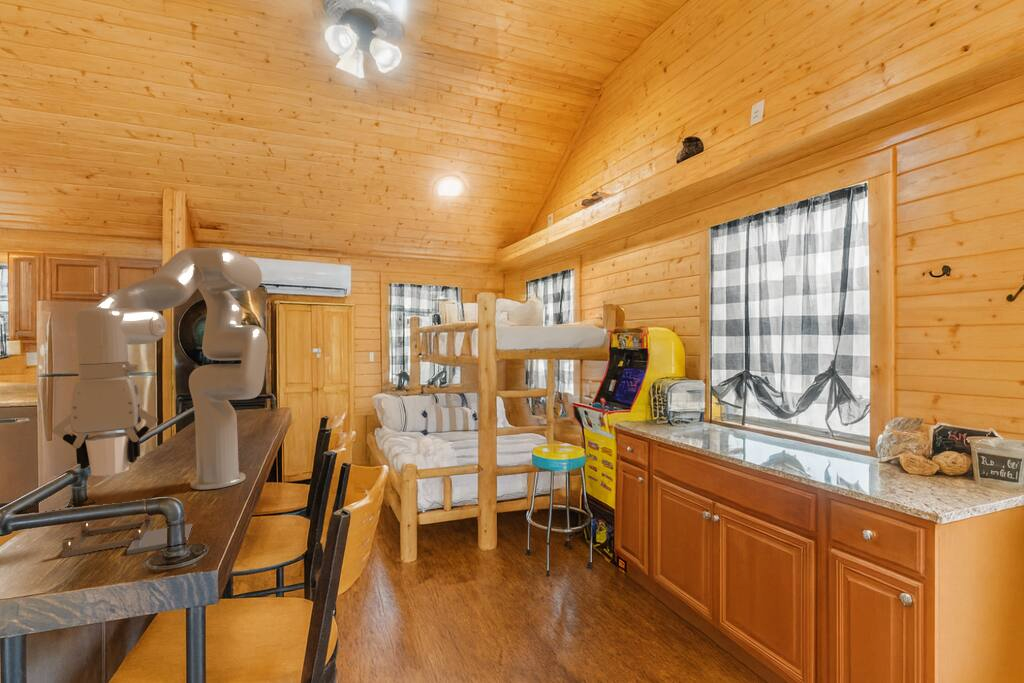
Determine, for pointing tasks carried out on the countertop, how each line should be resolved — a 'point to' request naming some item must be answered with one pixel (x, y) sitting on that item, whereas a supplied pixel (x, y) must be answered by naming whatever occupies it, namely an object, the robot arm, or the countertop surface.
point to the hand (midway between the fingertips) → (109, 463)
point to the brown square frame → (74, 548)
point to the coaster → (153, 540)
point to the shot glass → (108, 453)
